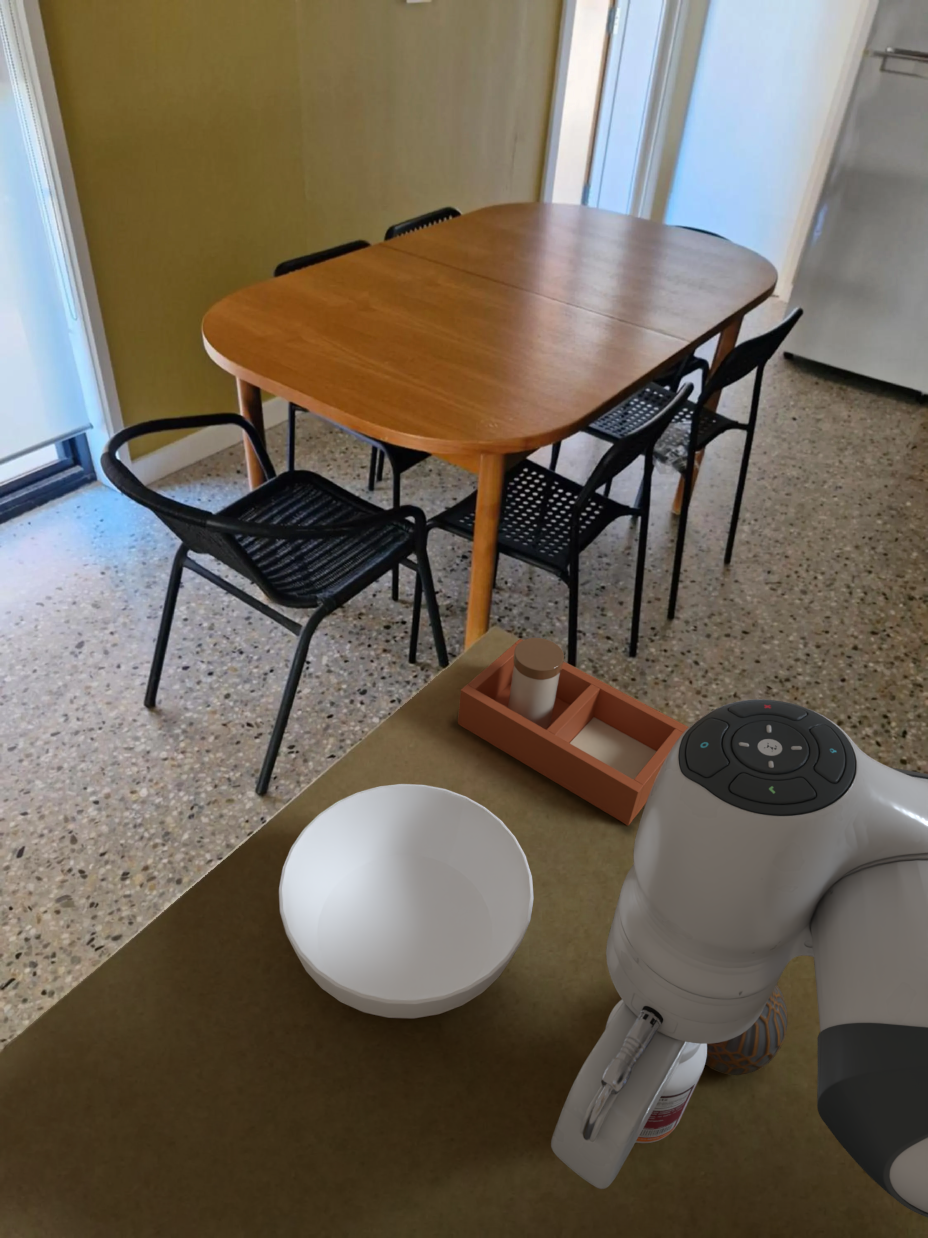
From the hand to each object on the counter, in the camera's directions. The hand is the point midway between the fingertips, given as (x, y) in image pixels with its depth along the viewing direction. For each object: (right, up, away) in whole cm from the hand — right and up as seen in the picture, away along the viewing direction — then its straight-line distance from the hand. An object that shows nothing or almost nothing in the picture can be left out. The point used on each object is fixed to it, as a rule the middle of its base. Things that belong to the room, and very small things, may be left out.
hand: (645, 1067), depth 56 cm
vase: (+7, -2, +7) cm, 10 cm away
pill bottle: (0, -4, +3) cm, 4 cm away
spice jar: (-5, +19, +31) cm, 36 cm away
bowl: (-16, +4, +12) cm, 21 cm away
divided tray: (-2, +17, +29) cm, 34 cm away
